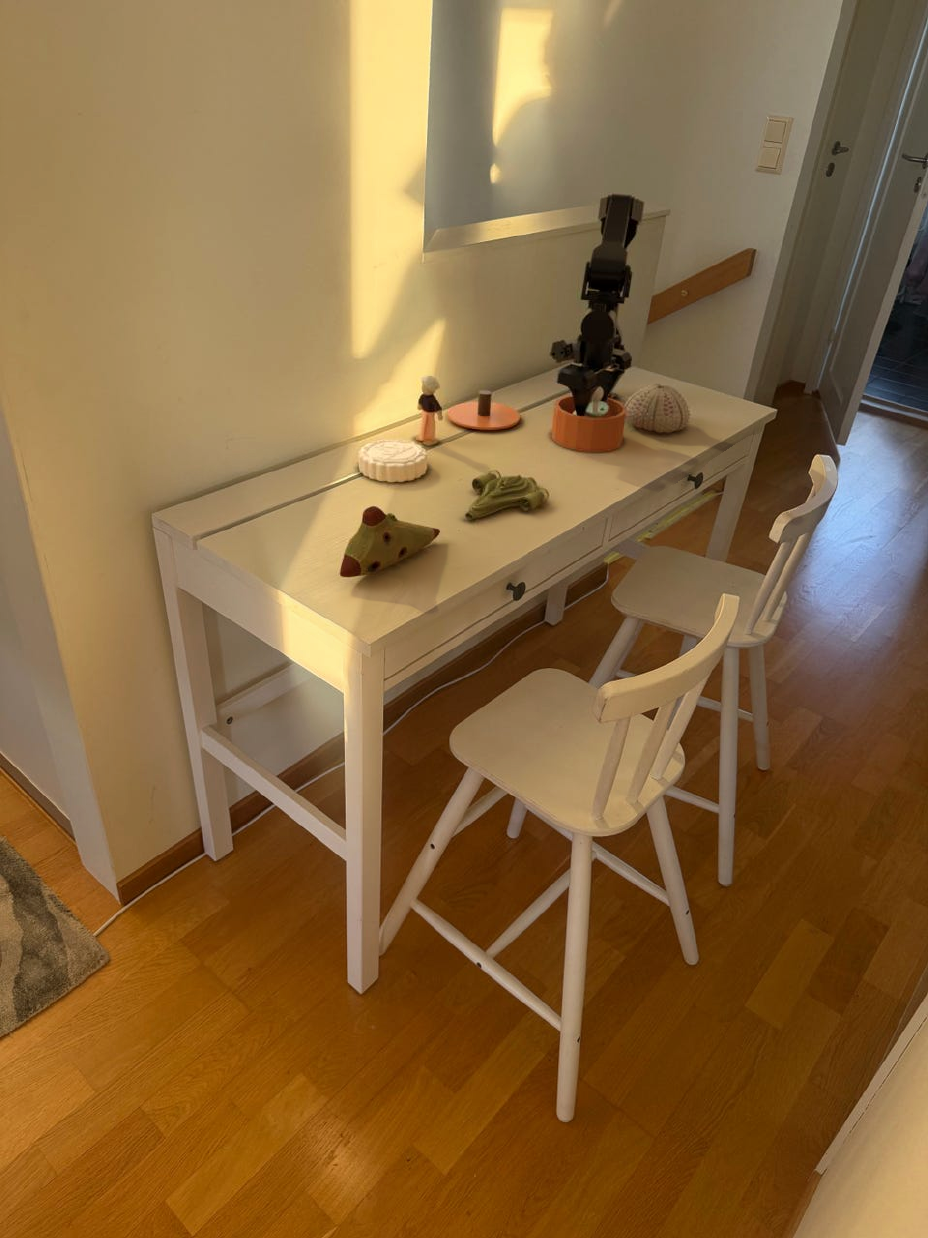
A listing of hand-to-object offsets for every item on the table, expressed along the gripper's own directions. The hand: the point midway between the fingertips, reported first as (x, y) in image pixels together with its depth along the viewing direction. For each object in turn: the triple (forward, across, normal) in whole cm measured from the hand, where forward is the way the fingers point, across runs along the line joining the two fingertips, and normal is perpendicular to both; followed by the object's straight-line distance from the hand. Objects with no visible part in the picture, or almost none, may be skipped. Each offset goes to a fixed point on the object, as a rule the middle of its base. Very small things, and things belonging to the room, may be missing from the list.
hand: (589, 411), depth 170 cm
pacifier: (+1, 0, 0) cm, 1 cm away
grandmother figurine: (+6, +22, -22) cm, 32 cm away
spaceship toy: (+5, +35, +3) cm, 35 cm away
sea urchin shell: (+6, -16, +7) cm, 18 cm away
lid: (+5, +5, -21) cm, 22 cm away
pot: (+5, 0, 0) cm, 5 cm away
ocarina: (+5, +62, +2) cm, 62 cm away
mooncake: (+5, +36, -19) cm, 41 cm away
